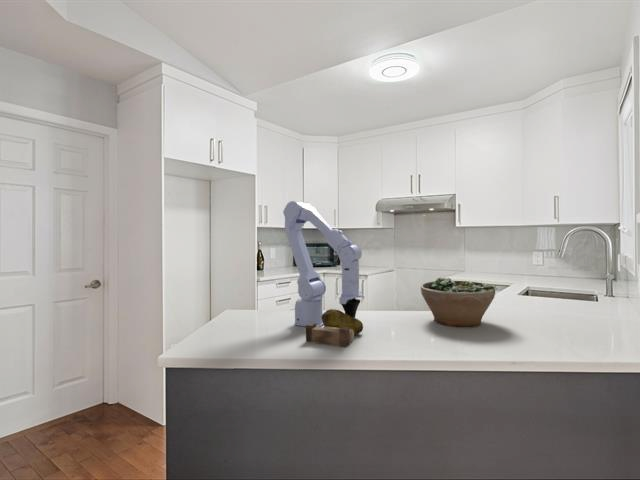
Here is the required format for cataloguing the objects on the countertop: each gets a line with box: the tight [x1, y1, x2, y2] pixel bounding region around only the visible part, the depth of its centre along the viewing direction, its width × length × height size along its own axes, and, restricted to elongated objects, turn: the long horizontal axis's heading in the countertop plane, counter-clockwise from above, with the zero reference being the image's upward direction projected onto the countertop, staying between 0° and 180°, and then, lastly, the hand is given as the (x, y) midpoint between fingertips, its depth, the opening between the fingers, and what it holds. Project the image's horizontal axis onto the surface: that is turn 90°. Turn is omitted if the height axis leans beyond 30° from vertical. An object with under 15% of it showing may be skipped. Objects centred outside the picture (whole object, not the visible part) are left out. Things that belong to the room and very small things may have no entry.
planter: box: [420, 277, 499, 329], centre depth 134 cm, size 26×25×15 cm
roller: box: [322, 325, 355, 344], centre depth 114 cm, size 9×4×4 cm
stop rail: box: [305, 323, 350, 348], centre depth 111 cm, size 13×3×5 cm, turn 65°
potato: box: [322, 308, 364, 336], centre depth 120 cm, size 8×13×8 cm, turn 70°
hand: (350, 321), depth 125 cm, fingers closed
